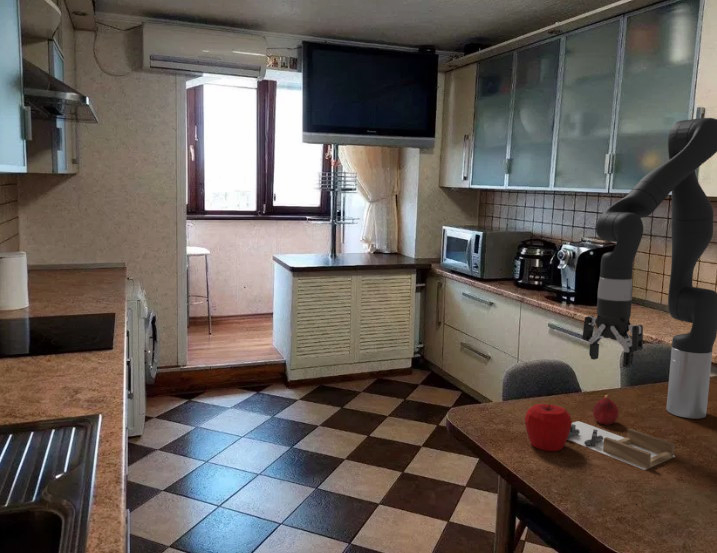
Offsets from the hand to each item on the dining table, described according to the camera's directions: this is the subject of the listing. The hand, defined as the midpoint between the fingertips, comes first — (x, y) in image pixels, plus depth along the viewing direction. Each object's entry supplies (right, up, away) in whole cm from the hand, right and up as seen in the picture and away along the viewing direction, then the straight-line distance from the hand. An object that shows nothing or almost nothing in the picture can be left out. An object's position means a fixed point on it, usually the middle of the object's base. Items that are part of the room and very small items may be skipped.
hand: (610, 362), depth 146 cm
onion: (0, -16, +3) cm, 17 cm away
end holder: (-1, -17, -16) cm, 23 cm away
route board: (-6, -18, -11) cm, 21 cm away
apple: (-19, -18, -12) cm, 29 cm away
